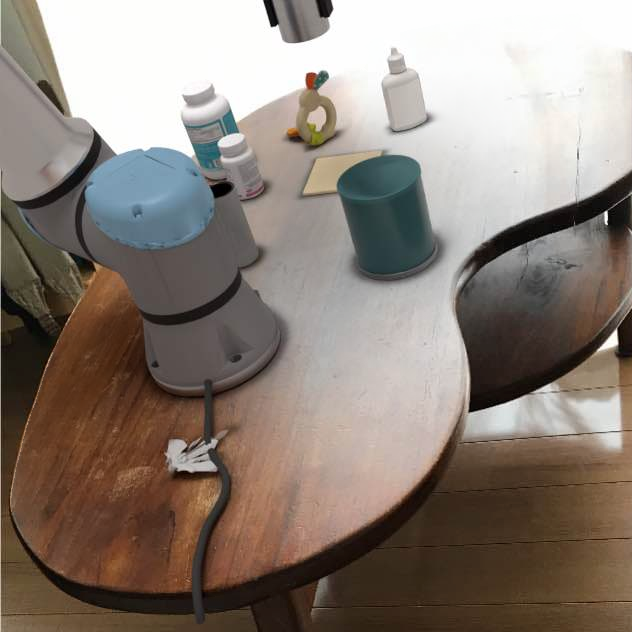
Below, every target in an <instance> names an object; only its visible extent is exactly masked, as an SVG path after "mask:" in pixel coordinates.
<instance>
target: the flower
mask: <svg viewBox="0 0 632 632" xmlns="http://www.w3.org/2000/svg"><path fill="white" fill-rule="evenodd" d="M228 432H229V429H223V430H221V431H219V432H218V433H217V434H216V435H215V436H214V437H212V438H211V439H212V440H211V443H210V444H208V445H207V446H206V445H205V443H206V442H205V441H204V440H203V441H202V442H200V440H201V439H202V436H200V437H199V438H198V439H195V440H194V441H193V442H191V443H190V445H189V447H188V444H187V443H186V442H185V440H183V439H179V438H178V439H177V438H176V439H175V438H172V439H169V440H168V445H167V451H166V452H165V453H164V455H165V456H166V458H167V459H165V463H168V467H167V469H168V471H169V474H170V476H172V475H173V474H174V472H175V471H177V472H181V471H187V472H189V473H192V474H193V473H195V472H217V471H218V468H217V467H216V466H215V465H214V463H213V462H212V461H211V459H210V458H209V455H208V454H207V451H208V449H210V448H213V449H214V450H215V448H216V446H217V444H218V442H219V440H221V439H222V438H224V437H225V436H226V435H227V433H228ZM198 442H200V443H199V444H198ZM197 444H198V445H197ZM196 445H197V446H196ZM195 446H196V447H195ZM187 447H188V449H187V451H186V452H183V451H184V450H185V449H186V448H187ZM191 449H192V450H191ZM200 455H201V456H200Z"/></svg>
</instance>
